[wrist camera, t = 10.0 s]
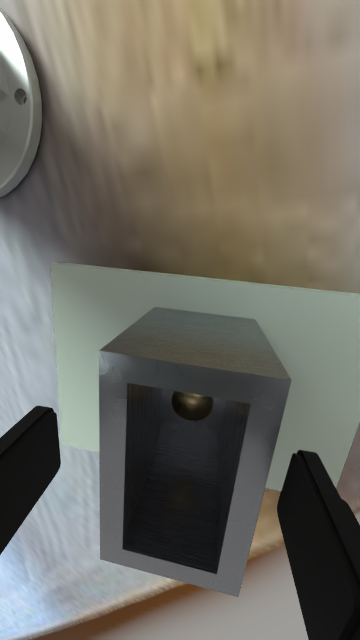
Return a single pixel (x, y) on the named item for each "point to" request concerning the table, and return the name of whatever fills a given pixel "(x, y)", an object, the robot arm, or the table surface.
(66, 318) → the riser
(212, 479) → the housing
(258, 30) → the table surface
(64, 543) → the table surface
